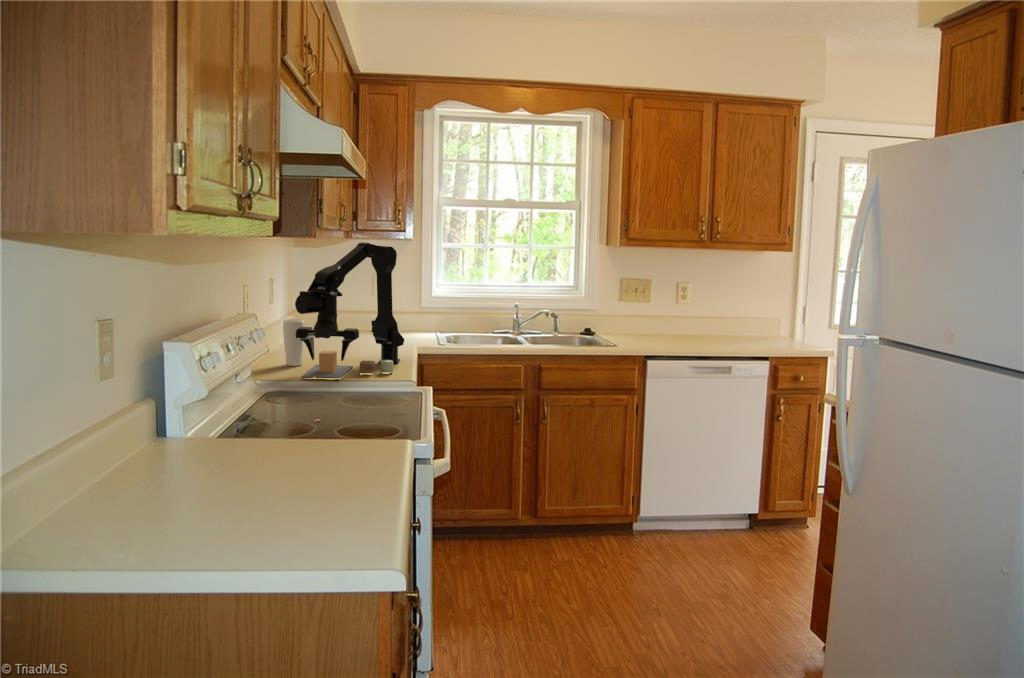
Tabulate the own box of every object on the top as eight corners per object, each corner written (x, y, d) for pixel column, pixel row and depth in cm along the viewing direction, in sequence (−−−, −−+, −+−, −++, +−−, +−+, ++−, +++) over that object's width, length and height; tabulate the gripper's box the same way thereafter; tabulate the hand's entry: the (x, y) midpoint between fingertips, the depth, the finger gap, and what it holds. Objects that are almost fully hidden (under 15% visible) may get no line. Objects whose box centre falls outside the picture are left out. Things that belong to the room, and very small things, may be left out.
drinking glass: (282, 363, 263) (281, 319, 261) (302, 362, 266) (302, 318, 264) (285, 367, 257) (284, 322, 255) (306, 366, 260) (306, 321, 258)
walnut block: (361, 372, 254) (361, 360, 253) (374, 373, 254) (374, 360, 253) (359, 375, 250) (359, 362, 249) (372, 375, 250) (372, 363, 249)
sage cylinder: (381, 371, 256) (381, 359, 255) (394, 372, 256) (394, 360, 255) (379, 374, 252) (379, 362, 251) (392, 374, 252) (392, 362, 251)
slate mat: (316, 367, 259) (316, 364, 259) (352, 368, 259) (352, 365, 259) (301, 379, 241) (301, 376, 241) (340, 380, 241) (340, 377, 241)
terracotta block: (322, 369, 252) (322, 350, 251) (336, 369, 252) (336, 351, 251) (319, 372, 248) (319, 353, 247) (333, 372, 248) (333, 353, 247)
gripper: (290, 313, 239) (290, 364, 241) (352, 315, 239) (352, 366, 241) (300, 309, 250) (300, 357, 252) (359, 310, 250) (359, 359, 252)
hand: (327, 360), depth 249 cm, fingers open, 9 cm apart
